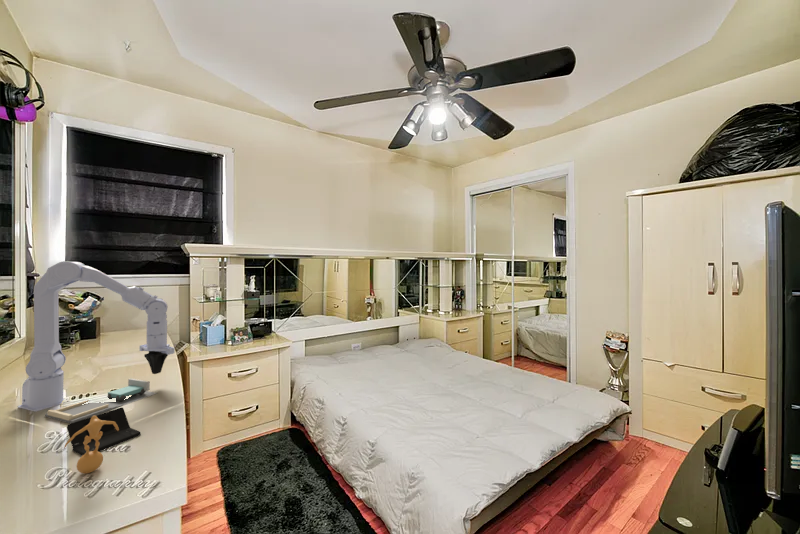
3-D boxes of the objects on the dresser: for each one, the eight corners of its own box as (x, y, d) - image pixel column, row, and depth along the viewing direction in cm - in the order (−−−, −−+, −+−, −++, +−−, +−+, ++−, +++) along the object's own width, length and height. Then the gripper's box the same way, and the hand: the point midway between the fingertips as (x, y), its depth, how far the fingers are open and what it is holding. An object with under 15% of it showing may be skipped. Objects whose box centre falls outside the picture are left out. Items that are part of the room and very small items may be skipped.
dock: (44, 417, 90) (44, 409, 90) (133, 389, 111) (133, 383, 111) (71, 424, 86) (71, 416, 86) (158, 394, 107) (158, 387, 107)
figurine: (112, 458, 71) (113, 404, 71) (122, 467, 68) (123, 410, 68) (58, 479, 64) (59, 418, 64) (67, 490, 61) (68, 426, 61)
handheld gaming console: (92, 451, 71) (80, 410, 74) (71, 468, 72) (60, 426, 75) (146, 434, 82) (134, 398, 85) (127, 448, 83) (116, 413, 86)
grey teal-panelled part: (102, 399, 102) (102, 386, 102) (132, 390, 110) (132, 377, 110) (121, 403, 99) (122, 390, 99) (150, 393, 107) (150, 381, 107)
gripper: (183, 333, 114) (182, 371, 114) (154, 330, 119) (153, 367, 119) (162, 337, 108) (162, 378, 108) (133, 334, 112) (132, 373, 112)
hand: (156, 373), depth 113 cm, fingers closed
